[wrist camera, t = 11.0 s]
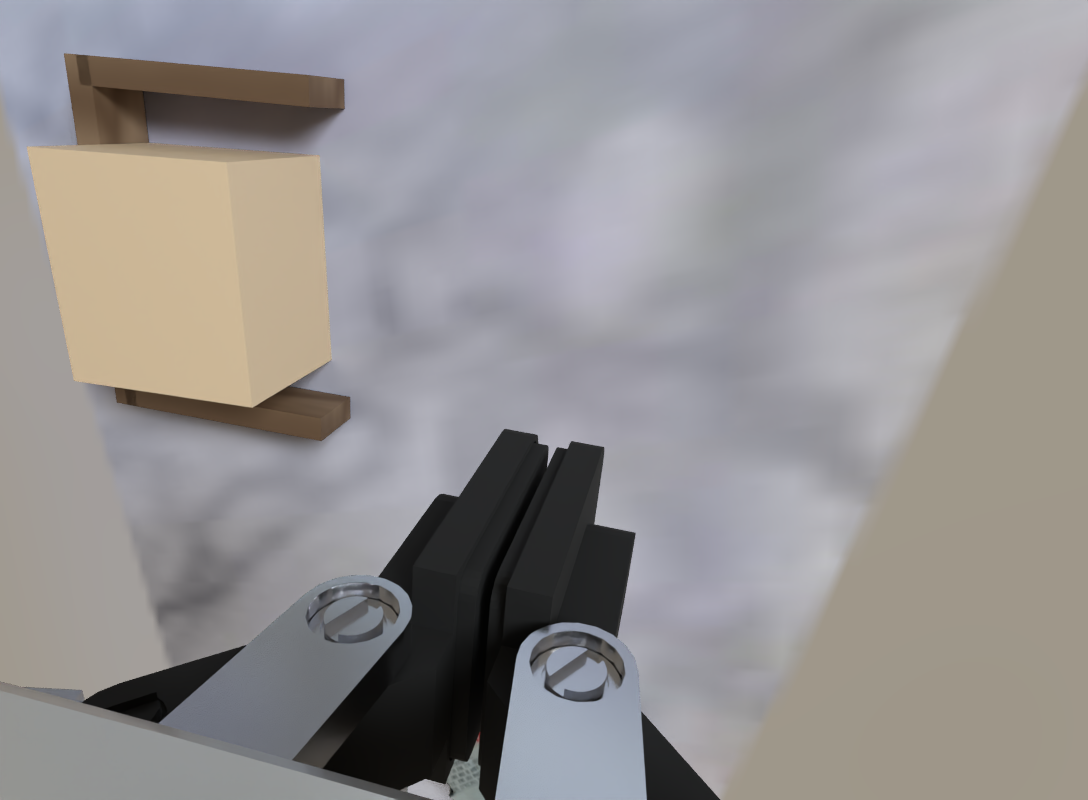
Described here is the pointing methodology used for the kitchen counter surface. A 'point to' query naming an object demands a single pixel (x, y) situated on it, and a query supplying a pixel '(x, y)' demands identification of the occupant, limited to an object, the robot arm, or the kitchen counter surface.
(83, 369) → the carton
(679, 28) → the kitchen counter surface
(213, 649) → the kitchen counter surface
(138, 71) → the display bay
